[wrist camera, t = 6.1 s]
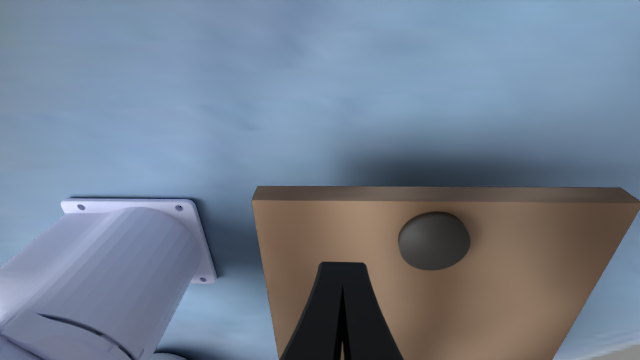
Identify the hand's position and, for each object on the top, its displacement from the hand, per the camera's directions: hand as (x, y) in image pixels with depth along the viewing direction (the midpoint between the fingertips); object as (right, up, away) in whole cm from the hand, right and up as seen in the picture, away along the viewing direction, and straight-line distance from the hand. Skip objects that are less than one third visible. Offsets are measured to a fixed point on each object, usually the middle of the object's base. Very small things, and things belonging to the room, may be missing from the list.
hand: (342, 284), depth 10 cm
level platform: (+5, -6, +10) cm, 12 cm away
